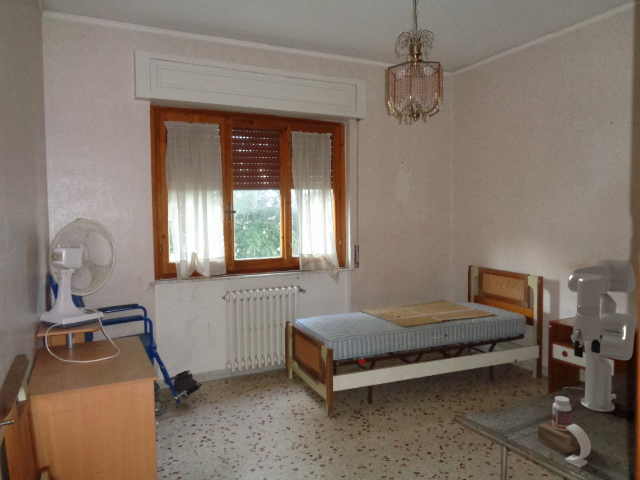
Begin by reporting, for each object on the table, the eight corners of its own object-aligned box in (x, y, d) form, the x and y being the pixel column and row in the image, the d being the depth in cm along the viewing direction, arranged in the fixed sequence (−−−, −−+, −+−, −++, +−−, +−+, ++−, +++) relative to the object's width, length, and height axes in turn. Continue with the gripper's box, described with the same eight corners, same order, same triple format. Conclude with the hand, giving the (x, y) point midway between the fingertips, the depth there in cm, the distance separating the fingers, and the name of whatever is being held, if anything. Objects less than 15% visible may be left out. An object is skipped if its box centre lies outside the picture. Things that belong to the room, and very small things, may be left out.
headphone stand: (572, 456, 163) (573, 423, 162) (590, 464, 158) (591, 430, 157) (565, 460, 161) (566, 427, 160) (582, 469, 156) (583, 434, 155)
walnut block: (558, 433, 179) (558, 418, 179) (585, 447, 170) (585, 431, 169) (537, 440, 175) (538, 424, 174) (564, 454, 165) (564, 438, 164)
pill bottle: (574, 428, 171) (575, 399, 170) (565, 433, 168) (566, 403, 167) (558, 422, 176) (558, 393, 175) (548, 426, 173) (549, 397, 172)
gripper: (593, 305, 184) (592, 348, 185) (563, 310, 176) (562, 355, 178) (612, 309, 177) (611, 353, 178) (582, 315, 170) (581, 361, 171)
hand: (587, 354), depth 178 cm, fingers open, 9 cm apart
